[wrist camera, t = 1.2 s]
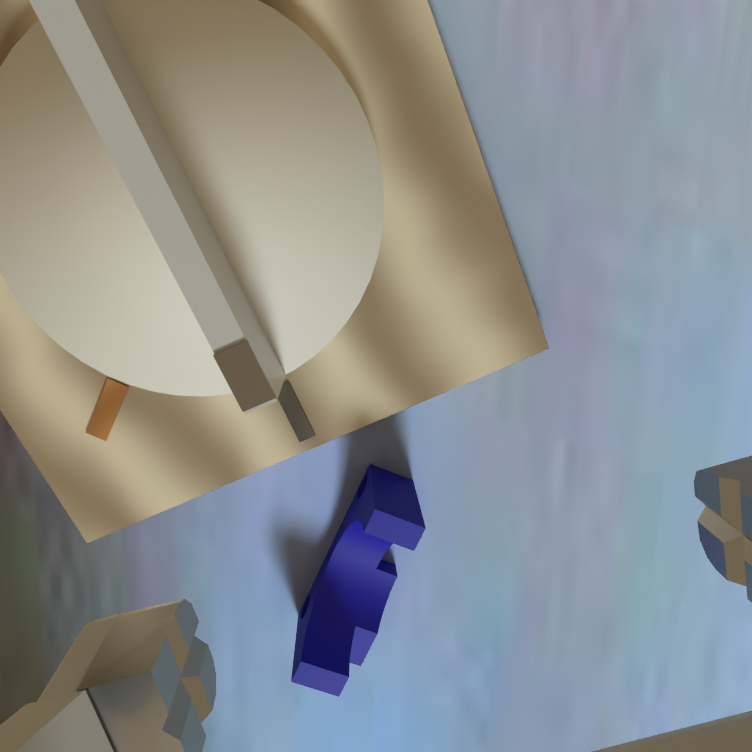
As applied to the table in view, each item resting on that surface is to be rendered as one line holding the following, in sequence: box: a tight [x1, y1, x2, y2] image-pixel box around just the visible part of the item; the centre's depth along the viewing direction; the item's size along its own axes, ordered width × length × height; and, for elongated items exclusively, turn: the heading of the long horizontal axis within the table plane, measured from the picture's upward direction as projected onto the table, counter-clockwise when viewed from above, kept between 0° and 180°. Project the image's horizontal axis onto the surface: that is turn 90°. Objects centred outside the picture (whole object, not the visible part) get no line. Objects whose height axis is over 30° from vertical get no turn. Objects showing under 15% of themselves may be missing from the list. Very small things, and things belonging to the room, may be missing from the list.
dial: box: [0, 0, 384, 414], centre depth 28 cm, size 20×20×6 cm
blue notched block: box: [291, 464, 425, 696], centre depth 36 cm, size 12×4×6 cm, turn 156°
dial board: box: [0, 0, 549, 543], centre depth 31 cm, size 30×30×2 cm
